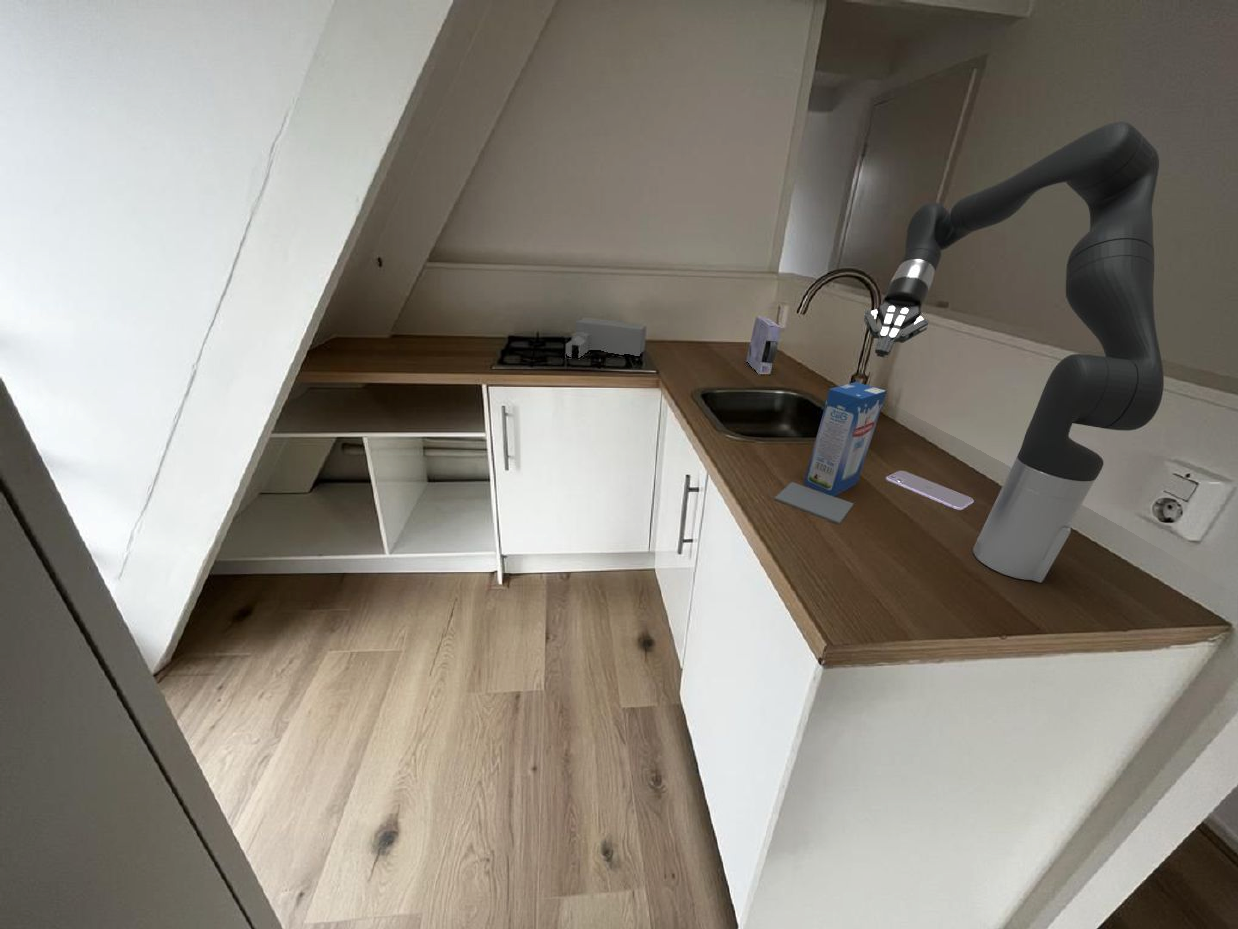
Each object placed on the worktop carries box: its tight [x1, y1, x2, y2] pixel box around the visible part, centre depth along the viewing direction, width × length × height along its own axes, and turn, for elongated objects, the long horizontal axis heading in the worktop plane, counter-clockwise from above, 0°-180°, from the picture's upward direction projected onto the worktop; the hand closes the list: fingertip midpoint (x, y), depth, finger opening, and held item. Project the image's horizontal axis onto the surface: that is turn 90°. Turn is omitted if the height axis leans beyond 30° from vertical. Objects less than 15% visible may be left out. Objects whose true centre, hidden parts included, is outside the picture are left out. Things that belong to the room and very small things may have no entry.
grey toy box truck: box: [565, 316, 648, 358], centre depth 182 cm, size 25×23×11 cm
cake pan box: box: [745, 315, 782, 375], centre depth 177 cm, size 19×5×18 cm, turn 0°
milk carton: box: [803, 381, 888, 497], centre depth 96 cm, size 10×6×20 cm, turn 130°
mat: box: [774, 481, 854, 525], centre depth 92 cm, size 12×9×1 cm
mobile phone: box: [885, 470, 974, 511], centre depth 101 cm, size 8×1×15 cm
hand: (880, 354), depth 102 cm, fingers closed
